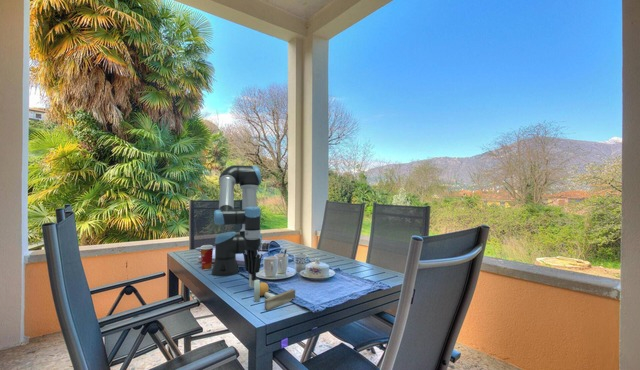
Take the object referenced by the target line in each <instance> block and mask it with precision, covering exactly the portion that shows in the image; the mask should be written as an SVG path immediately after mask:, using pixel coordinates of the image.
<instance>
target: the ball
mask: <svg viewBox="0 0 640 370" xmlns="http://www.w3.org/2000/svg"><path fill="white" fill-rule="evenodd" d="M269 290H270V288H269V285H268V283H266V282H264V281H260V296H261V297H262V296H264V294H265V293H266V292H268V293H269ZM264 297H265V296H264Z"/></svg>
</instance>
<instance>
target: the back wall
mask: <svg viewBox="0 0 640 370" xmlns="http://www.w3.org/2000/svg"><path fill="white" fill-rule="evenodd" d="M293 298H295V299H296V289H293V288H291V289H289V290H286V291H284V292H281V293H278V294H276V296H273V297H270V298H265V299H264V310H265V311H271V310H273V309H276V308H277V307H280V306H282V305H284V304H286V303H289V302H291V299H293Z"/></svg>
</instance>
